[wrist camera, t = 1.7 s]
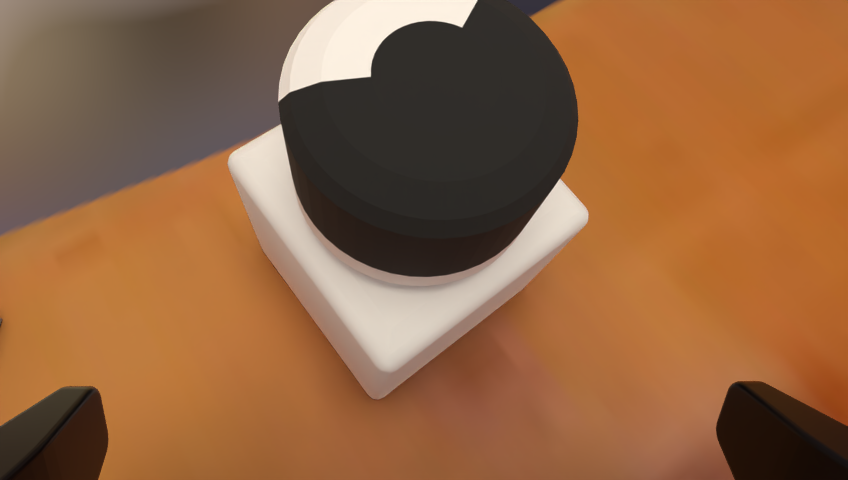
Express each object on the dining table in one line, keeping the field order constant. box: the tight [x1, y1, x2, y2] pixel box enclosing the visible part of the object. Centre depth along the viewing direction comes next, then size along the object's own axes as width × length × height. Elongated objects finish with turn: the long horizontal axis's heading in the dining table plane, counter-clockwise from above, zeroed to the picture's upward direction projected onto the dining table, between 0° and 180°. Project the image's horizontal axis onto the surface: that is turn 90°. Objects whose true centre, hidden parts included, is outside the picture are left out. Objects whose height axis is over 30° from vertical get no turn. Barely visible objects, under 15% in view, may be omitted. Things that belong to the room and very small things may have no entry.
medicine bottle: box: [228, 0, 588, 400], centre depth 17 cm, size 7×7×12 cm
